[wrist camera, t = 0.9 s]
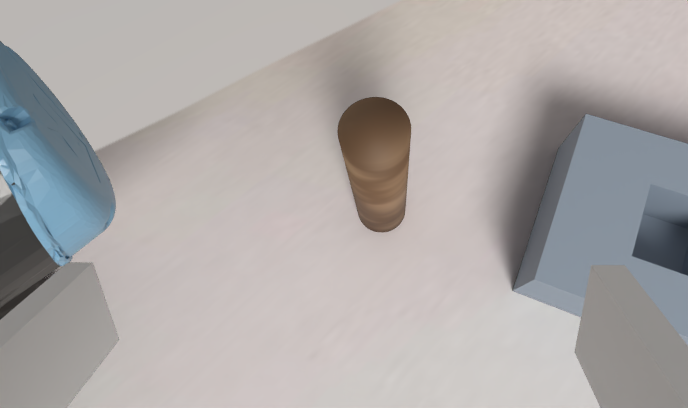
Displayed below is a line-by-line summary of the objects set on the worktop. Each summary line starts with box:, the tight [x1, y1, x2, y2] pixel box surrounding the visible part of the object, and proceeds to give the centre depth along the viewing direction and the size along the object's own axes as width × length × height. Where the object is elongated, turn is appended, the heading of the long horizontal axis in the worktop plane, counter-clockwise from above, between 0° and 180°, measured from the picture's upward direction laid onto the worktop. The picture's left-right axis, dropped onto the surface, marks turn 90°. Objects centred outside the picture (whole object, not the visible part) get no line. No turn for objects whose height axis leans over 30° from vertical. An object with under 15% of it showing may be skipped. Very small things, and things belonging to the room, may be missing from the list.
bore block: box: [513, 114, 688, 345], centre depth 34 cm, size 16×13×6 cm
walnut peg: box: [338, 97, 411, 232], centre depth 33 cm, size 4×4×15 cm
